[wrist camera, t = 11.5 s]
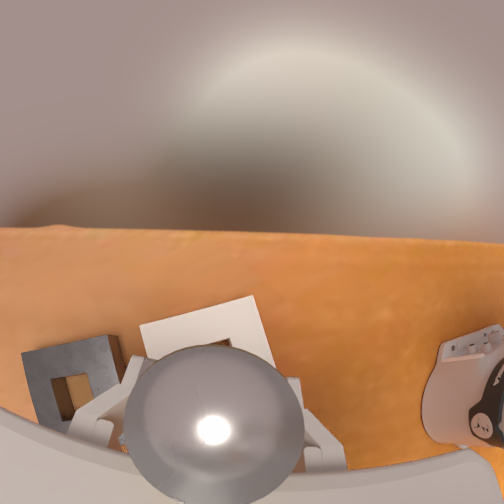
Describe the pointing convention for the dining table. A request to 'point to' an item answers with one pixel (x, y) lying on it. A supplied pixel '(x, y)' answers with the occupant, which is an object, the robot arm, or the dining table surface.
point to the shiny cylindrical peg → (213, 426)
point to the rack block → (209, 330)
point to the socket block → (70, 364)
